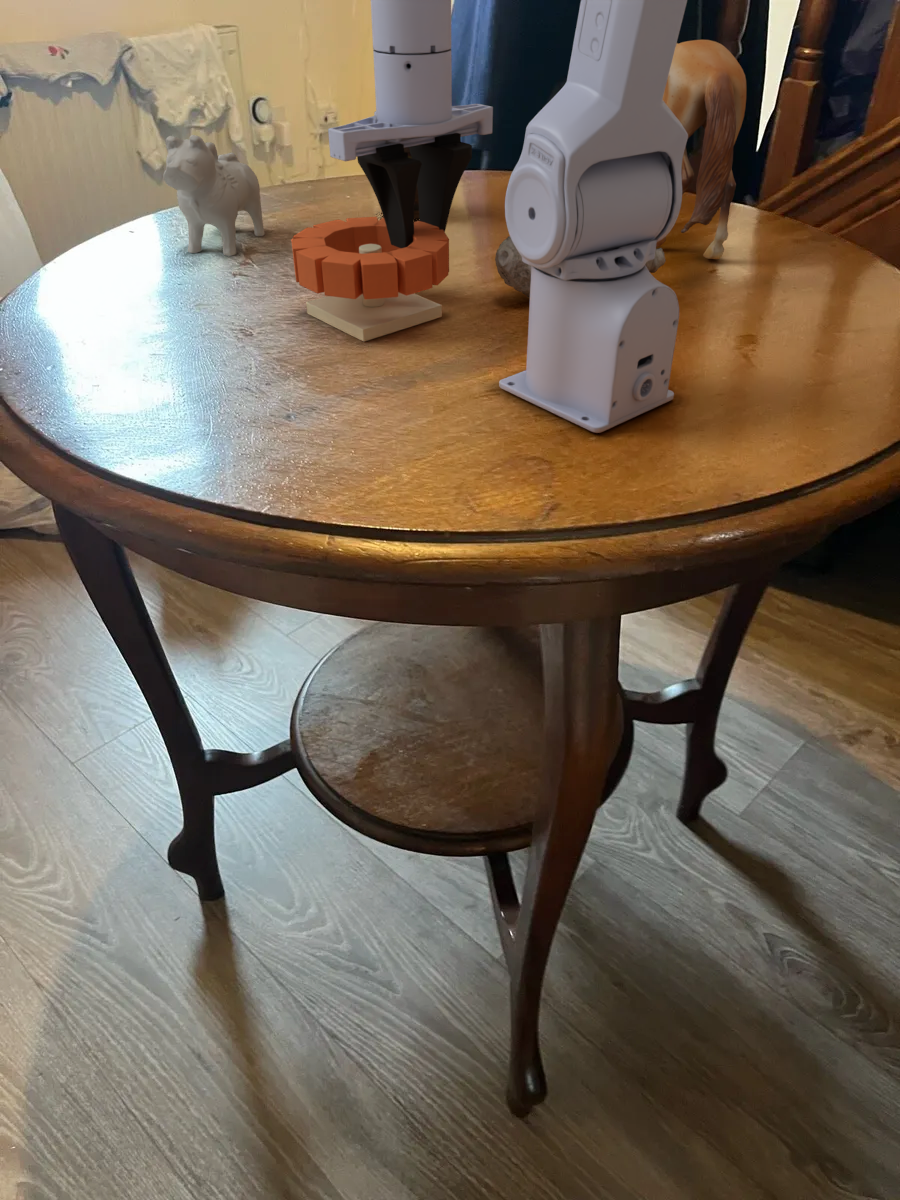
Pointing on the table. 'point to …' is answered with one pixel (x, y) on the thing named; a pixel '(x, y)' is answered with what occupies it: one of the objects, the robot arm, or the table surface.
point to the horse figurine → (708, 126)
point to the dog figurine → (211, 190)
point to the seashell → (520, 272)
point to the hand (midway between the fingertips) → (417, 242)
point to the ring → (368, 259)
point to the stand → (373, 311)
